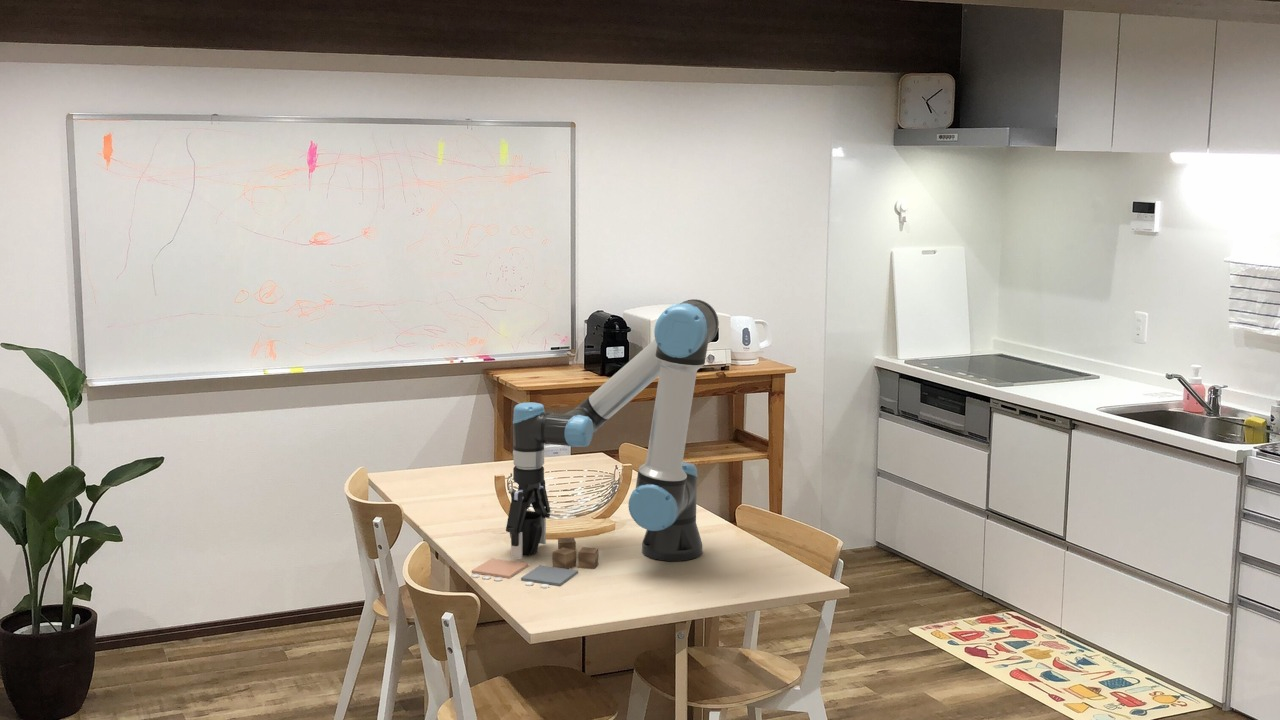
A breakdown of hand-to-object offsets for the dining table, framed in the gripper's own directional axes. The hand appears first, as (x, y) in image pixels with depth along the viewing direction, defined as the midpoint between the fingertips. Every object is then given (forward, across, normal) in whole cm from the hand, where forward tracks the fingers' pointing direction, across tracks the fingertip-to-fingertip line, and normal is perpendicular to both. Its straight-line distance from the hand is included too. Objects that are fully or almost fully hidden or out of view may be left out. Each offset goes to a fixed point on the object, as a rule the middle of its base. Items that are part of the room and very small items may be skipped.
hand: (528, 550), depth 305 cm
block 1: (+1, -3, +9) cm, 10 cm away
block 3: (+1, +2, +17) cm, 17 cm away
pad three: (+1, +14, -1) cm, 14 cm away
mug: (+1, 0, 0) cm, 1 cm away
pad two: (+1, +14, +12) cm, 19 cm away
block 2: (+1, +5, +12) cm, 13 cm away
